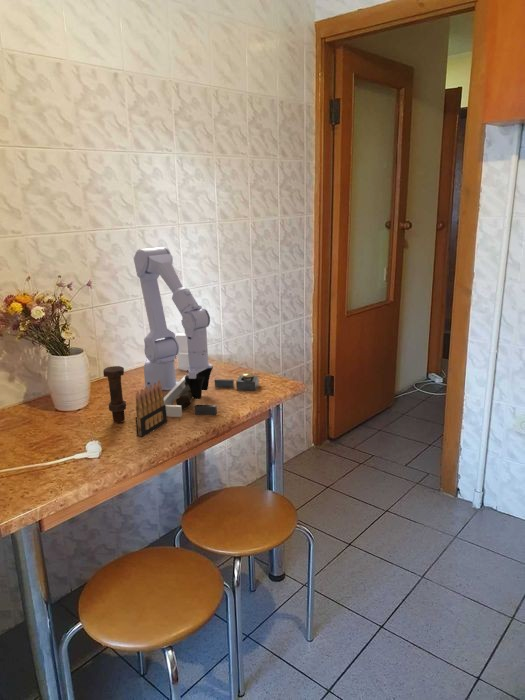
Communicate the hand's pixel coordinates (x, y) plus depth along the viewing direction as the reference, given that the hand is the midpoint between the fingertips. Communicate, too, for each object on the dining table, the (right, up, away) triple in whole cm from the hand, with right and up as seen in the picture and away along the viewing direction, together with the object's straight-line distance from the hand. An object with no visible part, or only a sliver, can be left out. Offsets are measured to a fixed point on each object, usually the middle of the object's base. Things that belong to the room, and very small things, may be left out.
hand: (200, 394), depth 160 cm
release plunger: (+14, +2, +9) cm, 17 cm away
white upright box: (-7, +7, +33) cm, 35 cm away
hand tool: (-3, -2, +1) cm, 3 cm away
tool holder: (+9, -1, 0) cm, 9 cm away
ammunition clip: (-10, -8, -20) cm, 24 cm away
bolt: (-21, -6, -14) cm, 26 cm away
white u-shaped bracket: (-4, -1, +1) cm, 5 cm away
